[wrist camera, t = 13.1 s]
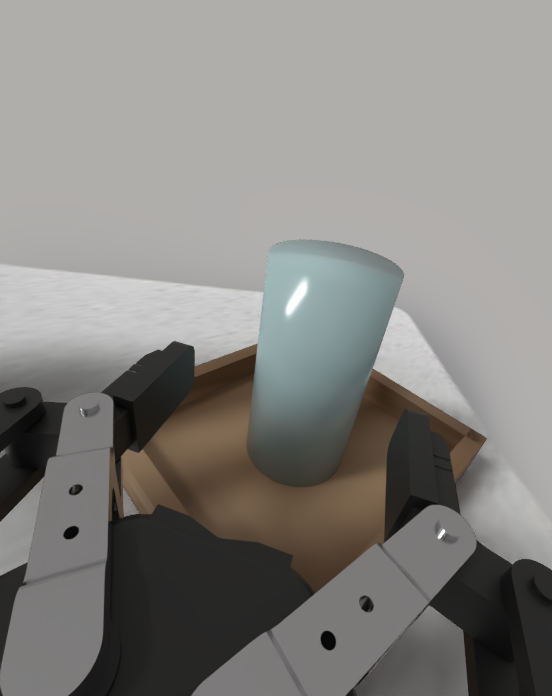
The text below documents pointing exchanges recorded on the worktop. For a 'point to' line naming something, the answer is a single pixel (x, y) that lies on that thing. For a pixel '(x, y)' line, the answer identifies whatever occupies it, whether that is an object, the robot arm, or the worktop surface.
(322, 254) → the pale blue cylinder
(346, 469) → the tray
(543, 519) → the worktop surface
